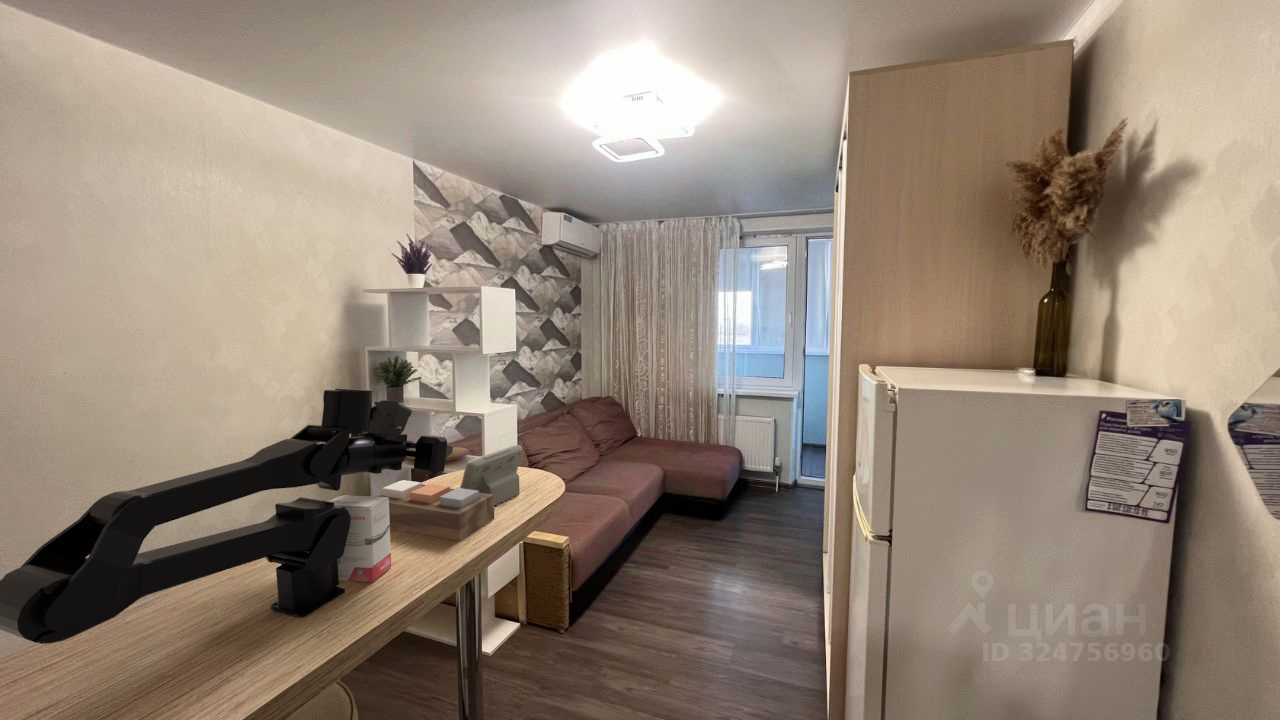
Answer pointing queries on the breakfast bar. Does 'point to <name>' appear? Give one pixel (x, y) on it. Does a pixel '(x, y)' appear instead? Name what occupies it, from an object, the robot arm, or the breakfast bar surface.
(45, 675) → the breakfast bar surface
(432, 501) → the terracotta key
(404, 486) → the cream key
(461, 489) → the grey key
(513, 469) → the digital clock
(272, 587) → the breakfast bar surface
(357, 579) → the ink box
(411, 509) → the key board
